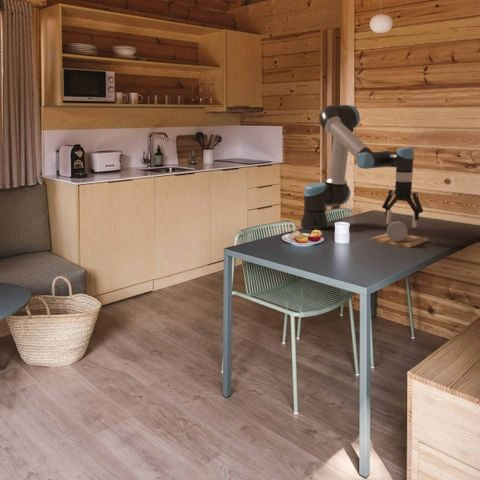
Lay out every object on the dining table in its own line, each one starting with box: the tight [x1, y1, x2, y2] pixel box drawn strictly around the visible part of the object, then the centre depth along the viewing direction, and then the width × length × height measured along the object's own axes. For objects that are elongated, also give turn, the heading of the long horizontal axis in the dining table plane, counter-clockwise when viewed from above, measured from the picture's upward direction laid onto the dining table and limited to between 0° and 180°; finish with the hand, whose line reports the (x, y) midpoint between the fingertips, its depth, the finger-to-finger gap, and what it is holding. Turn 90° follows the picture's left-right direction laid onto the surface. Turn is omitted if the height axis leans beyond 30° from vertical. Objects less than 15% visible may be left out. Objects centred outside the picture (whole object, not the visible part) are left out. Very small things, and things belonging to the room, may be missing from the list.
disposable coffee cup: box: [386, 221, 408, 242], centre depth 263 cm, size 10×10×12 cm
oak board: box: [370, 232, 429, 249], centre depth 267 cm, size 20×18×2 cm
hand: (401, 225), depth 266 cm, fingers open, 13 cm apart
